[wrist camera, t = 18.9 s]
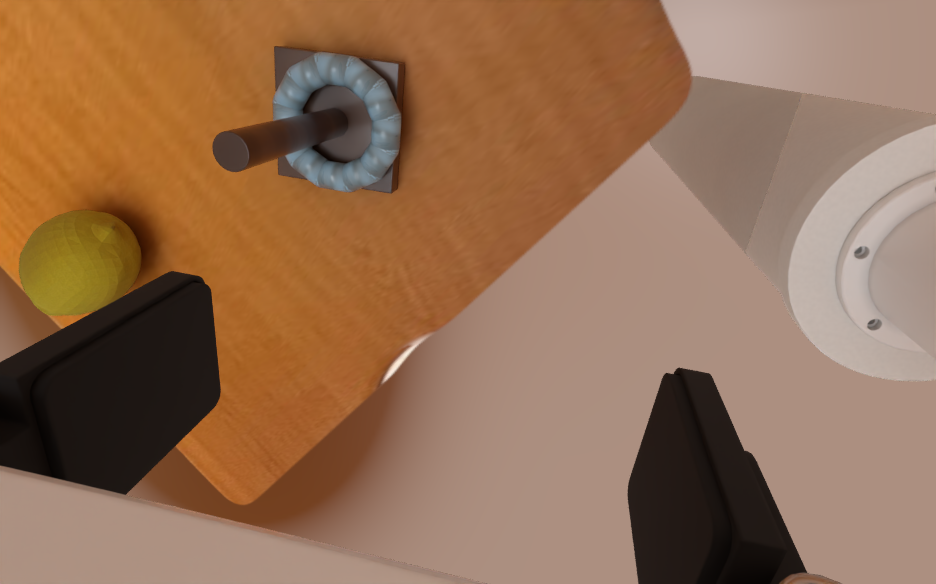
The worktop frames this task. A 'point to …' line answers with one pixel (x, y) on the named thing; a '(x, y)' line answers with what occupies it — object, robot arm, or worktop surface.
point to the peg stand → (313, 125)
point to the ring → (377, 102)
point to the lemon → (79, 262)
